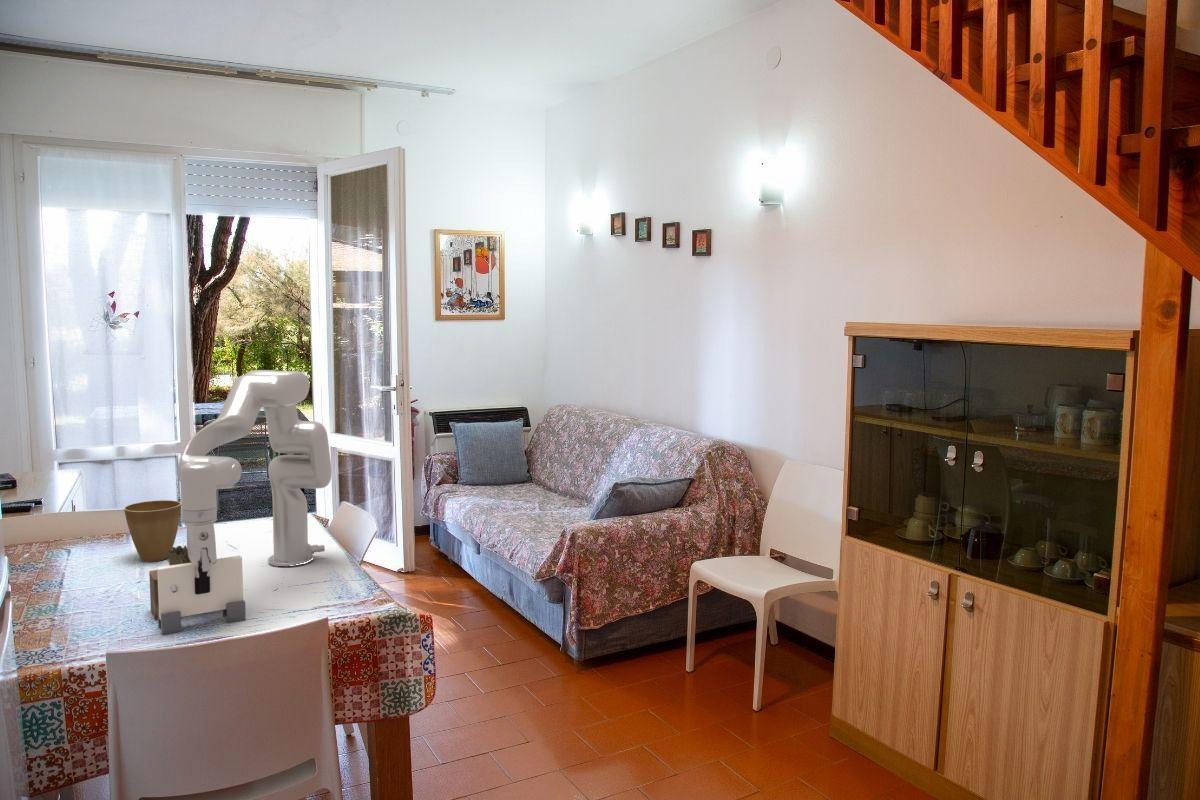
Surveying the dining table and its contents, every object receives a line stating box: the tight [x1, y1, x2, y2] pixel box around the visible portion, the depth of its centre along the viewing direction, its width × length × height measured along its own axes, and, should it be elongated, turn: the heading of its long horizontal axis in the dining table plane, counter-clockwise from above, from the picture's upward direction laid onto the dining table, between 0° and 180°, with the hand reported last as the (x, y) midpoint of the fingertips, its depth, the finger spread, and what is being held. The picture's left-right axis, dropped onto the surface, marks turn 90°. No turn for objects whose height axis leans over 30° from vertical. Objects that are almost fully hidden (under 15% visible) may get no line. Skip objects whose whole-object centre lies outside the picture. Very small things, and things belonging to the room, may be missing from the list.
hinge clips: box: [157, 599, 247, 636], centre depth 203 cm, size 18×6×4 cm, turn 125°
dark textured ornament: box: [167, 545, 192, 566], centre depth 237 cm, size 8×7×8 cm
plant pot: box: [123, 499, 181, 563], centre depth 253 cm, size 15×15×16 cm
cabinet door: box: [156, 555, 244, 620], centre depth 202 cm, size 18×3×12 cm, turn 125°
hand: (201, 591), depth 203 cm, fingers closed on cabinet door, 2 cm apart
